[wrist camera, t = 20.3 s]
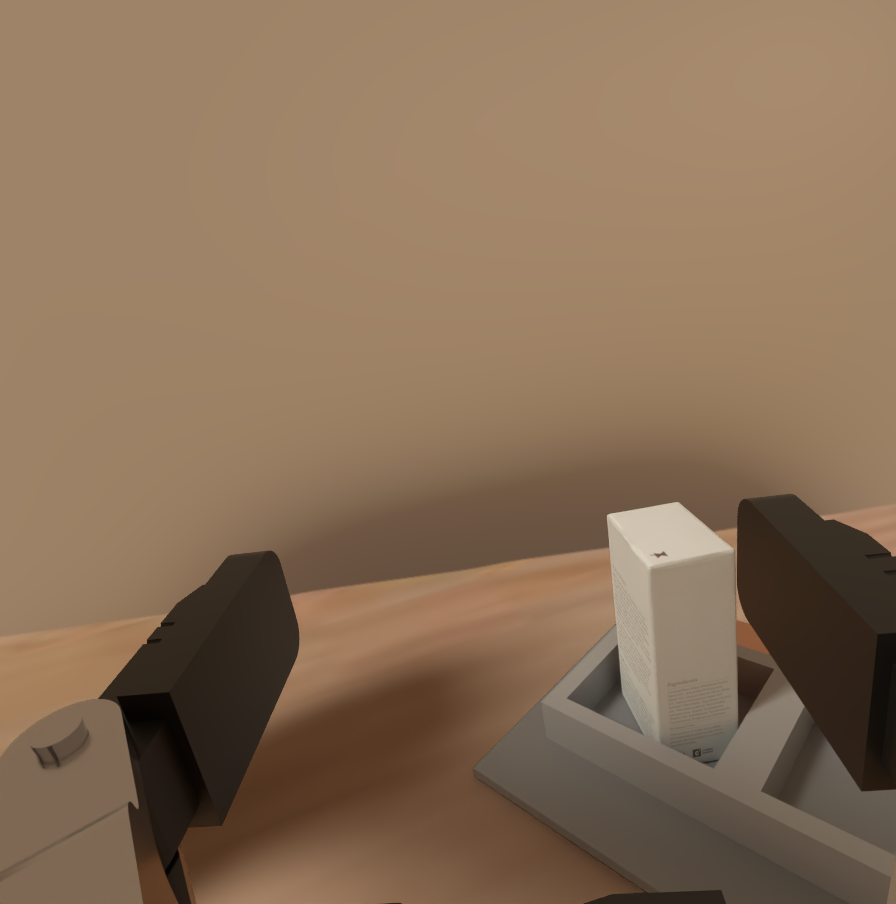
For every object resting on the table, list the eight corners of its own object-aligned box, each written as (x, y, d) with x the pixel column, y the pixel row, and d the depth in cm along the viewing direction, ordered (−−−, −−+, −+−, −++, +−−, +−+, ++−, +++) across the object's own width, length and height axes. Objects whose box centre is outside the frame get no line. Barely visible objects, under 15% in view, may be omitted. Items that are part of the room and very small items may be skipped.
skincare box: (742, 758, 30) (740, 550, 27) (660, 774, 30) (646, 568, 27) (688, 678, 36) (679, 498, 32) (619, 692, 36) (602, 513, 32)
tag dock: (474, 776, 33) (466, 732, 32) (636, 610, 44) (633, 573, 43) (1134, 1221, 16) (1158, 1155, 15) (1119, 766, 27) (1132, 712, 26)
